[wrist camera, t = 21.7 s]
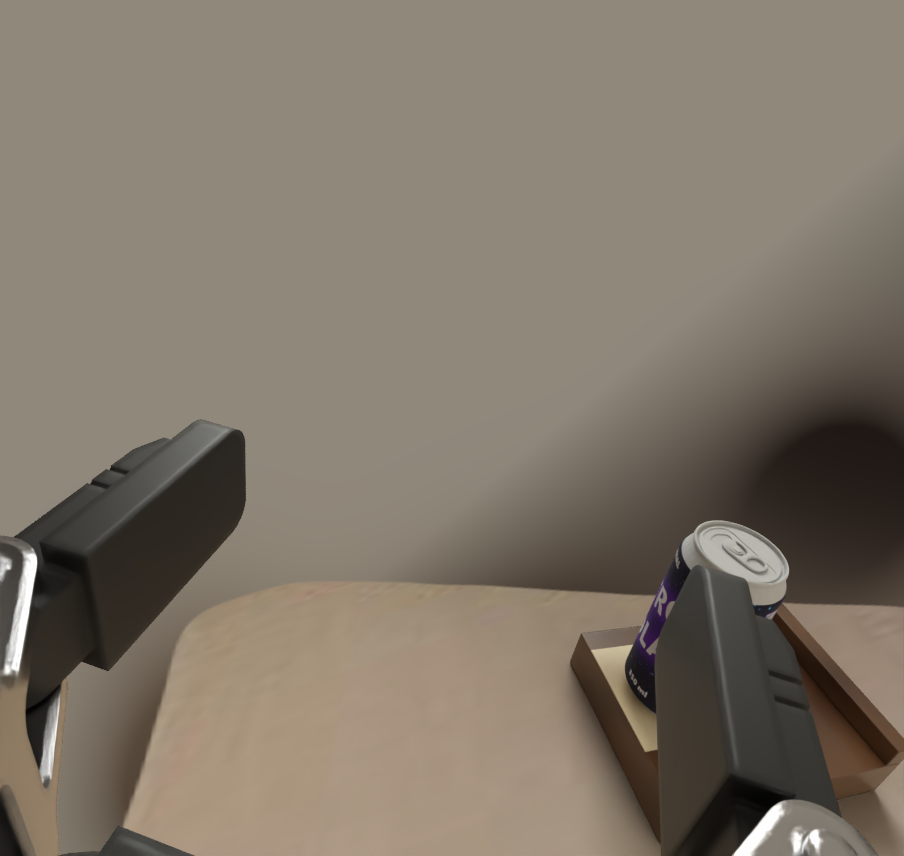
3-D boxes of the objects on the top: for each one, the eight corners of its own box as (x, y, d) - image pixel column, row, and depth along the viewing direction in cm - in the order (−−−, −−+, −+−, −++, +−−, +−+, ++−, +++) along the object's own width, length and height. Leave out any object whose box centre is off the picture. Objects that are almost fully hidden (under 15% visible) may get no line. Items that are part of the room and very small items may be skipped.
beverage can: (660, 642, 43) (728, 505, 36) (729, 709, 39) (818, 570, 33) (602, 673, 40) (665, 530, 33) (670, 750, 36) (756, 604, 30)
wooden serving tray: (569, 661, 44) (586, 617, 42) (751, 636, 49) (776, 596, 47) (660, 844, 34) (688, 800, 32) (875, 790, 39) (913, 748, 37)
